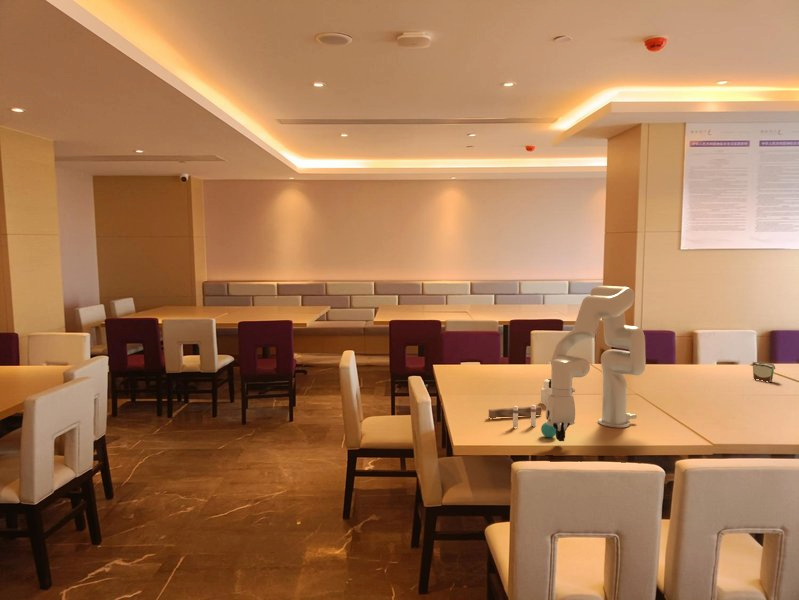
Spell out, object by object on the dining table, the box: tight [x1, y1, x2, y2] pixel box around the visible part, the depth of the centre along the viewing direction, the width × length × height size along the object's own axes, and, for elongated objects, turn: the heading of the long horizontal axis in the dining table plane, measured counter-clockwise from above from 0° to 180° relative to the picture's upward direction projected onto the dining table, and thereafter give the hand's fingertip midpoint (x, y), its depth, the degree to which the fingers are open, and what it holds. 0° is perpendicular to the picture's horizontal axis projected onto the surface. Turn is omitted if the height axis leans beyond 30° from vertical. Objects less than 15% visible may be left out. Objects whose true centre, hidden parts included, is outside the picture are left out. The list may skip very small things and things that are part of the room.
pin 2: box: [530, 404, 537, 428], centre depth 228 cm, size 2×2×9 cm
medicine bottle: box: [540, 378, 551, 407], centre depth 262 cm, size 7×7×12 cm
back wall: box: [488, 405, 542, 418], centre depth 242 cm, size 24×2×4 cm, turn 102°
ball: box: [540, 421, 556, 438], centre depth 214 cm, size 6×6×6 cm
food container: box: [751, 361, 776, 383], centre depth 308 cm, size 12×6×10 cm, turn 22°
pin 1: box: [512, 405, 519, 428], centre depth 226 cm, size 2×2×9 cm
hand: (560, 440), depth 205 cm, fingers closed
